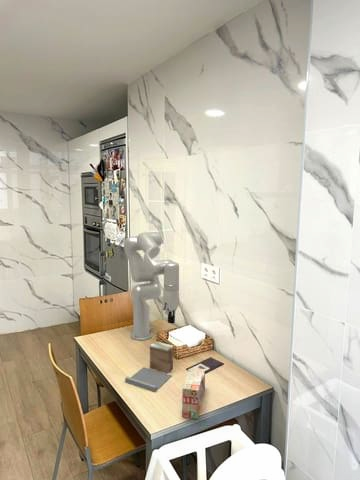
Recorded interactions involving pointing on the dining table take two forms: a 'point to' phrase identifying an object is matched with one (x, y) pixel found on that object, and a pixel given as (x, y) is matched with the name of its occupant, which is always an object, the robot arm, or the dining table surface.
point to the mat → (148, 379)
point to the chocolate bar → (207, 365)
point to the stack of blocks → (193, 393)
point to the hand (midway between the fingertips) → (171, 322)
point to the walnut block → (161, 357)
